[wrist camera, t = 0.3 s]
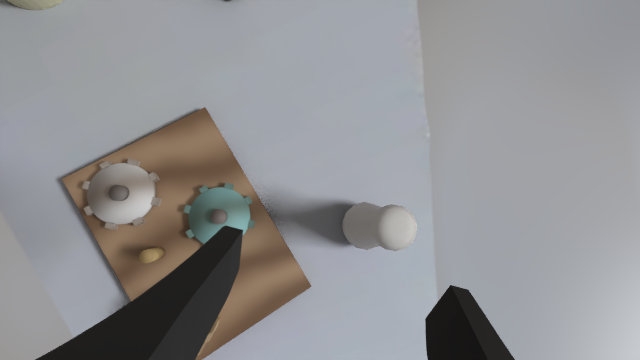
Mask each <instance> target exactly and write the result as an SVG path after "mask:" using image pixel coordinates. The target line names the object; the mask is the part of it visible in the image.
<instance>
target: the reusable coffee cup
mask: <svg viewBox="0 0 640 360" xmlns="http://www.w3.org/2000/svg"><path fill="white" fill-rule="evenodd" d="M7 1H9V2H10V3H12V4H13V5H16V6H18V7H20V8H24V9H29V10H42V9H47V8H51V7H53V6H56V5H58V4H59V3H61V2H62V1H64V0H7Z"/></svg>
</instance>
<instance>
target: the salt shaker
mask: <svg viewBox="0 0 640 360" xmlns="http://www.w3.org/2000/svg"><path fill="white" fill-rule="evenodd" d="M342 223H343V233H344V235H345V236H346V238H347V240H348V242H349V243H351V244H352V245H354V246H355V247H357V248H361V249H366V250H368V249H371V248H374V247H377V246H381V247H383V248H384V249H388V250H393V251H397V250H400V249H403V248H406V247H408V246H409V245H410V244H411V243H412V242H413V241H414V239H415V236H416V233H417V225H416V220H415V218H414V217H413V215H412V213H411V212H410V211H408V210H407V209H406V208H404V207H402V206H397V205H388V206H384V207H380V206H377V205H375V204H370V203H365V202H363V203H359V204H356V205H354V206H352V207H351V208H350V209H349V210H348V211H347V212H346V214H345V216H344V219H343V221H342Z"/></svg>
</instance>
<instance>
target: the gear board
mask: <svg viewBox="0 0 640 360" xmlns="http://www.w3.org/2000/svg"><path fill="white" fill-rule="evenodd" d="M62 180H63V182H64V184H65V186H66V187H67V189H68V191H69V193H70V194H71V196H72V198H73V200H74V201H75V203H76V205H77V207H78V208H79V210H80V212H81V214H82V216H83V217H84V219H85V221H86V223H87V224H88V226H89V228H90V230H91V231H92V233H93V235H94V237H95V238H96V240H97V242H98V244H99V245H100V247H101V249H102V251H103V253H104V254H105V256H106V258H107V260H108V261H109V263H110V265H111V267H112V268H113V270H114V272H115V274H116V275H117V277H118V279H119V281H120V282H121V284H122V286H123V288H124V289H125V291H126V293H127V295H128V297H129V298H130V300H131V301H133V300H134V299H136V298H137V297H138V296H140V295H141V294H143V293H144V292H145V291H147V290H148V289H149V288H151V287H152V286H153V285H155V284H156V283H157V282H159V281H160V280H161V279H163V278H164V277H165V276H167V275H168V274H169V273H170V272H172V271H173V270H174V269H175V268H177V267H178V266H179V265H180V264H181V263H183V262H184V261H185V260H186V259H188V258H189V257H190V256H191V255H192V254H194V253H195V252H196V251H197V250H198V249H199V248H200V247H201V246H203V245H204V244H205V243H206V242H207V241H208V240H209V239H210V238H211V237H212V236H213V235H215V234H216V233H217V232H218V231H219V230H220V229H221V228H222V227H223V226H230V227H234V228H238V229H241V230H243V237H242V247H241V257H240V267H239V271H238V274H237V276H236V279H235V281H234V284H233V286H232V289H231V291H230V294H229V296H228V298H227V300H226V302H225V304H224V306H223V308H222V310H221V312H220V314H219V315H218V317H219V318H220V321H219V324H218V326H217V328H216V330H215V332H214V334H213V336H212V337H211V339H210V341H209V342H207V343H206V344H205V346H204V348H203V350H202V352H201V353H200V355H198V356H197V357H196V359H195V360H202V359H203V358H205V357H206V356H208V355H209V354H211V353H212V352H214V351H215V350H217V349H218V348H220V347H221V346H223V345H224V344H226V343H227V342H229V341H230V340H232V339H233V338H235V337H236V336H238V335H239V334H241V333H242V332H244V331H245V330H247V329H248V328H250V327H251V326H253V325H254V324H256V323H257V322H259V321H260V320H262V319H263V318H265V317H266V316H268V315H269V314H271V313H272V312H274V311H275V310H277V309H278V308H280V307H281V306H283V305H284V304H286V303H287V302H289V301H290V300H292V299H293V298H295V297H296V296H298V295H299V294H301V293H302V292H304V291H305V290H307V289H308V288H310V287H311V285H310V283H309V281H308V280H307V278H306V276H305V275H304V273H303V271H302V270H301V268H300V266H299V265H298V263H297V261H296V259H295V258H294V256H293V254H292V253H291V251H290V249H289V248H288V246H287V244H286V243H285V241H284V239H283V238H282V236H281V234H280V233H279V231H278V229H277V227H276V226H275V224H274V222H273V221H272V219H271V217H270V216H269V214H268V212H267V211H266V209H265V207H264V206H263V204H262V202H261V200H260V199H259V197H258V195H257V194H256V192H255V190H254V189H253V187H252V185H251V184H250V182H249V180H248V179H247V177H246V175H245V174H244V172H243V170H242V168H241V167H240V165H239V163H238V162H237V160H236V158H235V157H234V155H233V153H232V152H231V150H230V148H229V147H228V145H227V143H226V141H225V140H224V138H223V136H222V135H221V133H220V131H219V130H218V128H217V126H216V125H215V123H214V121H213V120H212V118H211V116H210V115H209V113H208V111H207V110H206V108H203V109H201V110H199V111H197V112H195V113H193V114H191V115H189V116H187V117H185V118H183V119H181V120H179V121H177V122H175V123H173V124H171V125H169V126H167V127H165V128H163V129H161V130H159V131H157V132H155V133H153V134H151V135H149V136H147V137H145V138H143V139H141V140H139V141H137V142H135V143H133V144H131V145H129V146H127V147H125V148H123V149H121V150H119V151H116V152H114V153H112V154H110V155H108V156H106V157H104V158H102V159H100V160H98V161H96V162H94V163H92V164H90V165H88V166H86V167H84V168H82V169H80V170H78V171H76V172H74V173H72V174H70V175H68V176H66V177H64V178H62Z"/></svg>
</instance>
